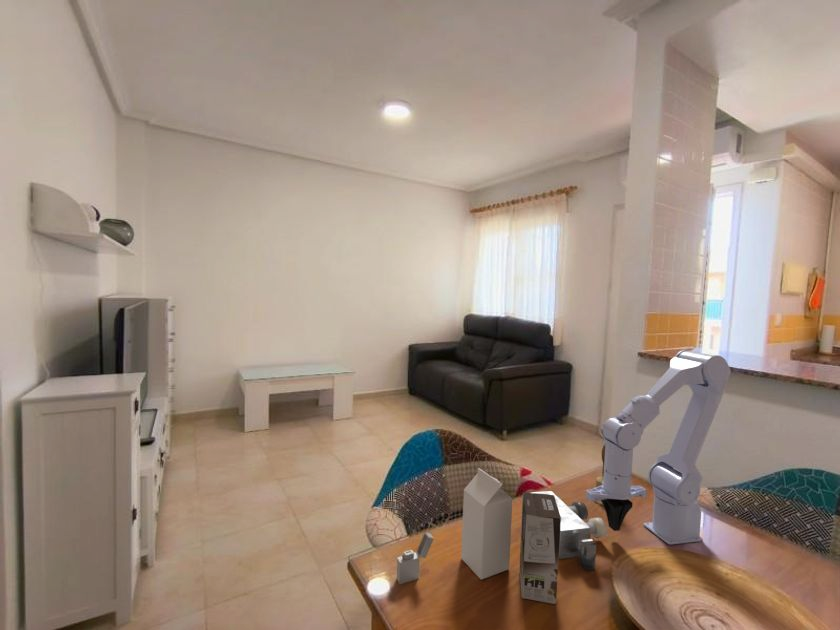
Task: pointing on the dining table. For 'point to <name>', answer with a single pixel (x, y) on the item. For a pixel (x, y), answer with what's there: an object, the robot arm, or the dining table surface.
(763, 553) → the dining table surface
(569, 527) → the mount
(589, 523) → the knob cream
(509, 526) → the milk carton
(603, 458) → the hand bell
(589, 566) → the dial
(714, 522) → the dining table surface
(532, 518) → the coffee box
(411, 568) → the lighter
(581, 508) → the knob black
